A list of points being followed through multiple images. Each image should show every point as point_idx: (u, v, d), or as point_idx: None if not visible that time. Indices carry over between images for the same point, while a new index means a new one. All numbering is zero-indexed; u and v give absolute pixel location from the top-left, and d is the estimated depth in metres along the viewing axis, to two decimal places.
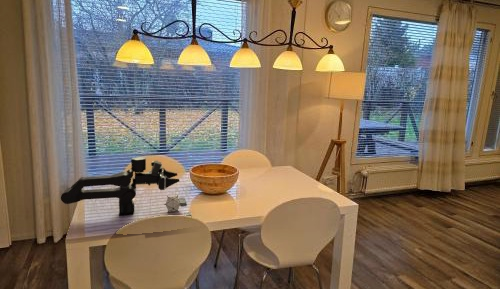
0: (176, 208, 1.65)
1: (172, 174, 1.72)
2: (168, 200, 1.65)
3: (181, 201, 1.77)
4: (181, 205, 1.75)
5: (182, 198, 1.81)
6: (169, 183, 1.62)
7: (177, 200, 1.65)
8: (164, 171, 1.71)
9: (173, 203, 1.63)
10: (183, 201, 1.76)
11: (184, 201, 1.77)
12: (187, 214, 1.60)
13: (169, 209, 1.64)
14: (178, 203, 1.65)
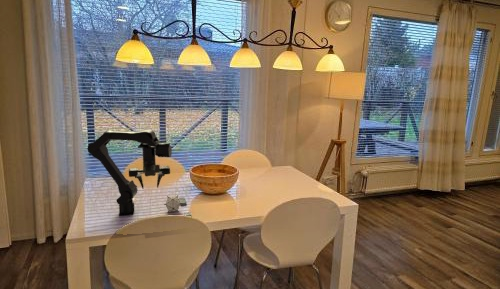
0: (176, 208, 1.65)
1: (157, 182, 1.62)
2: (168, 200, 1.65)
3: (181, 201, 1.77)
4: (181, 205, 1.75)
5: (182, 198, 1.81)
6: None
7: (177, 200, 1.65)
8: (158, 175, 1.60)
9: (173, 203, 1.63)
10: (183, 201, 1.76)
11: (184, 201, 1.77)
12: (187, 214, 1.60)
13: (169, 209, 1.64)
14: (178, 203, 1.65)
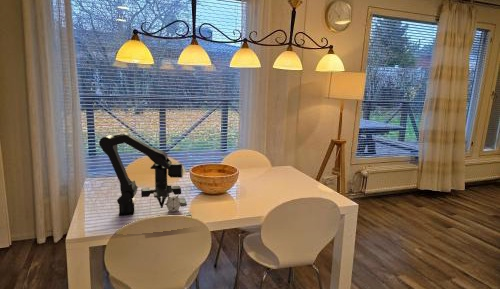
0: (176, 208, 1.65)
1: (161, 203, 1.65)
2: (168, 200, 1.65)
3: (181, 201, 1.77)
4: (181, 205, 1.75)
5: (182, 198, 1.81)
6: None
7: (177, 200, 1.65)
8: None
9: (173, 203, 1.63)
10: (183, 201, 1.76)
11: (184, 201, 1.77)
12: (187, 214, 1.60)
13: (169, 209, 1.64)
14: (178, 203, 1.65)
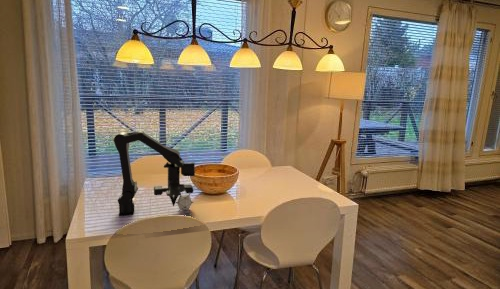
0: (188, 207, 1.67)
1: None
2: (180, 198, 1.66)
3: None
4: None
5: None
6: None
7: (189, 199, 1.67)
8: (174, 194, 1.64)
9: (185, 202, 1.65)
10: None
11: None
12: (187, 214, 1.60)
13: (181, 207, 1.66)
14: (190, 202, 1.67)
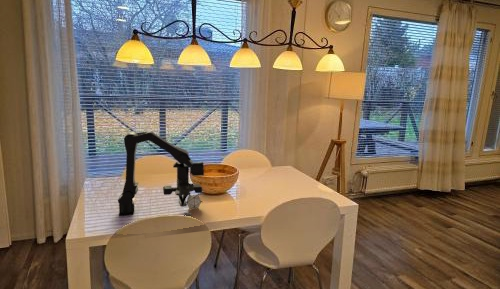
0: (197, 206, 1.68)
1: None
2: (189, 198, 1.68)
3: None
4: (181, 205, 1.75)
5: None
6: None
7: (198, 198, 1.69)
8: None
9: (194, 201, 1.67)
10: None
11: None
12: (187, 214, 1.60)
13: (190, 207, 1.68)
14: (199, 201, 1.68)
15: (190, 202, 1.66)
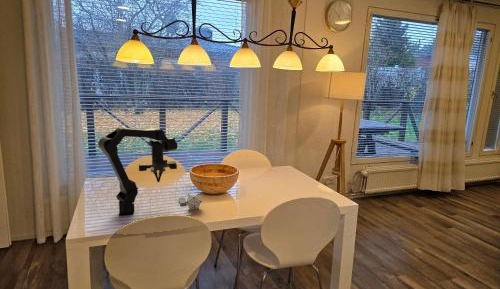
0: (197, 206, 1.68)
1: (158, 177, 1.74)
2: (189, 198, 1.68)
3: (181, 201, 1.77)
4: (181, 205, 1.75)
5: (182, 198, 1.81)
6: None
7: (198, 198, 1.69)
8: (159, 170, 1.72)
9: (194, 201, 1.67)
10: (183, 201, 1.76)
11: (184, 201, 1.77)
12: (187, 214, 1.60)
13: (190, 207, 1.68)
14: (199, 201, 1.68)
15: (190, 202, 1.67)
